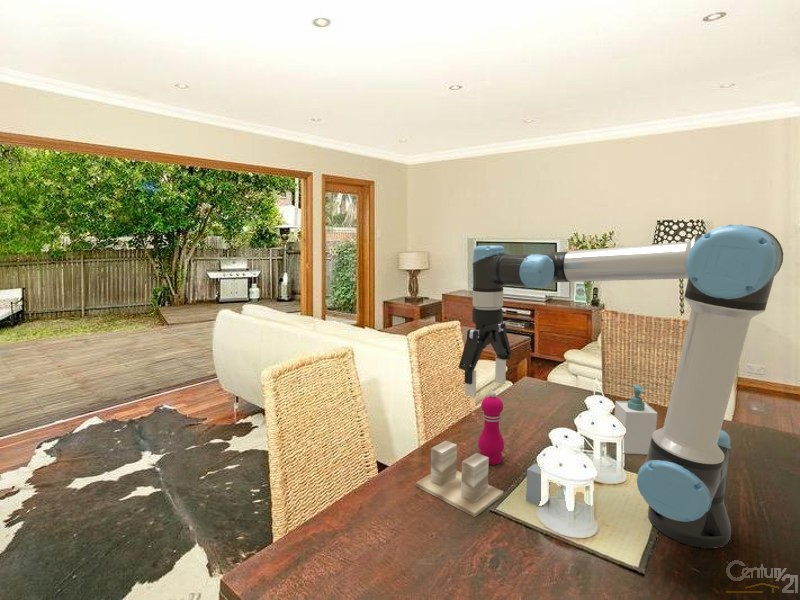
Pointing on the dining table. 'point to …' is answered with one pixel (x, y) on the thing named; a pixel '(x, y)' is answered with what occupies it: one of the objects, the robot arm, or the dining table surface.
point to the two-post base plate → (459, 480)
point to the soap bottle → (636, 422)
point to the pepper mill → (491, 429)
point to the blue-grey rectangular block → (534, 484)
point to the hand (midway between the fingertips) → (486, 389)
